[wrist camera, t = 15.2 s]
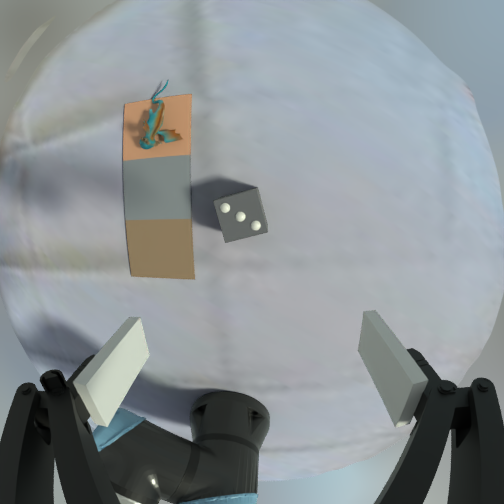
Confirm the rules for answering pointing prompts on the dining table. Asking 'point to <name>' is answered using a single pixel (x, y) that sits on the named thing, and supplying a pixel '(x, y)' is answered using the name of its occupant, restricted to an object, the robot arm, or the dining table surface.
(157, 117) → the dragon figurine
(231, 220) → the die
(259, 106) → the dining table surface
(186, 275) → the game board
